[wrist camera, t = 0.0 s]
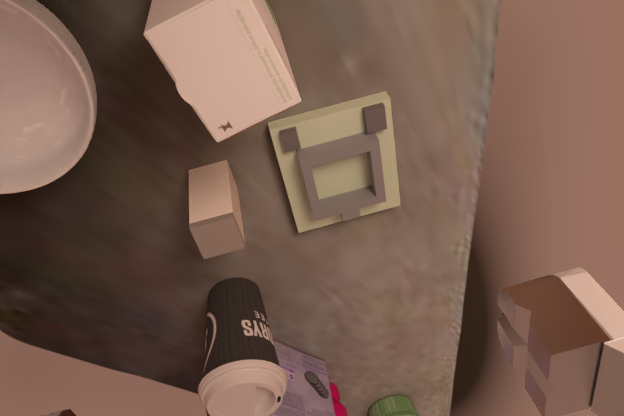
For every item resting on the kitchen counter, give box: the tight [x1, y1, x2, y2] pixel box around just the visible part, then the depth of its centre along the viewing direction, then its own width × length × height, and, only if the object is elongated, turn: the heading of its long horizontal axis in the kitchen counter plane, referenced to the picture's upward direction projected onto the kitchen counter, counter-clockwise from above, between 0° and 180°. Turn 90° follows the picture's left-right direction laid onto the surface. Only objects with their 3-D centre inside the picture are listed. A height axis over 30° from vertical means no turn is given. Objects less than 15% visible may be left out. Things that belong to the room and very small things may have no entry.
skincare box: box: [143, 0, 301, 142], centre depth 36 cm, size 8×7×16 cm
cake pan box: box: [206, 340, 335, 416], centre depth 68 cm, size 19×5×18 cm, turn 48°
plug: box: [189, 160, 245, 259], centre depth 50 cm, size 4×4×9 cm
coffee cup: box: [198, 278, 287, 416], centre depth 60 cm, size 10×10×15 cm
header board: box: [268, 91, 400, 233], centre depth 54 cm, size 14×12×4 cm
